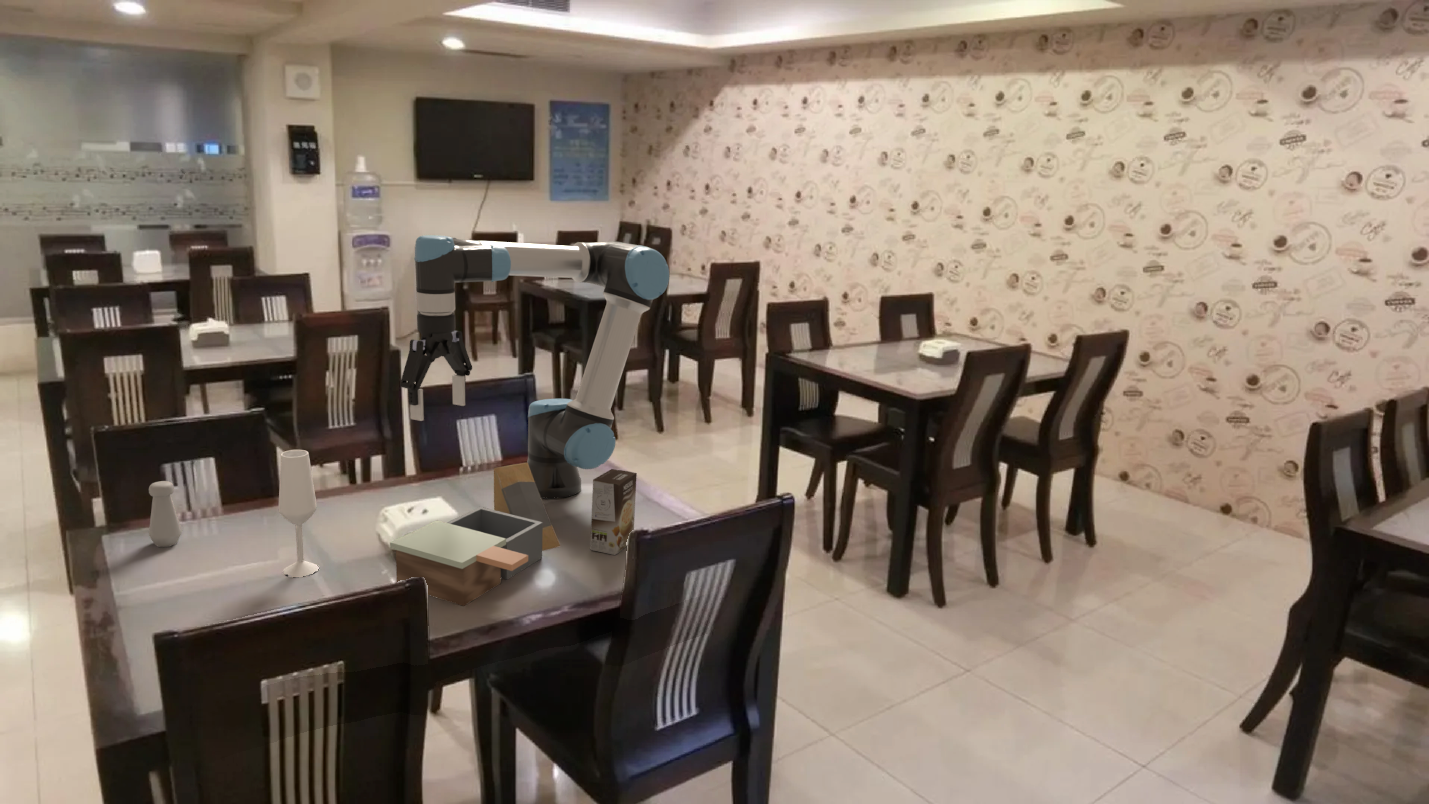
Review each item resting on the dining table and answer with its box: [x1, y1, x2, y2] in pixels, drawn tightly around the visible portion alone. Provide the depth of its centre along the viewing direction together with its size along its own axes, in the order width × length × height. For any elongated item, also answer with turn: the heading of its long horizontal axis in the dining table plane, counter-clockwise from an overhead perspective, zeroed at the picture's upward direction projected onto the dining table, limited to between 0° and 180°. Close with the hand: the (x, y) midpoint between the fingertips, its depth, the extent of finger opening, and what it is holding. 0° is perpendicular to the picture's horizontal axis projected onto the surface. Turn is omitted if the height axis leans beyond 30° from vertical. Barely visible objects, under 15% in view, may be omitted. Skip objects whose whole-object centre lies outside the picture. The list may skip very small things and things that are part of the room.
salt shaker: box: [148, 480, 183, 548], centre depth 185 cm, size 6×6×13 cm
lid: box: [389, 519, 528, 571], centre depth 173 cm, size 13×25×1 cm, turn 66°
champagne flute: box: [278, 449, 320, 578], centre depth 176 cm, size 7×7×24 cm
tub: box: [446, 506, 543, 580], centre depth 188 cm, size 12×16×8 cm
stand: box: [395, 550, 502, 607], centre depth 176 cm, size 11×16×8 cm
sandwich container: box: [493, 462, 562, 552], centre depth 199 cm, size 9×15×15 cm, turn 41°
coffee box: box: [589, 468, 638, 556], centre depth 198 cm, size 9×6×16 cm
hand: (438, 412), depth 192 cm, fingers open, 13 cm apart
